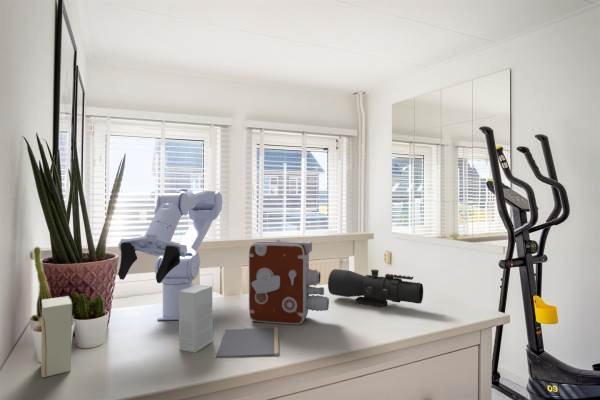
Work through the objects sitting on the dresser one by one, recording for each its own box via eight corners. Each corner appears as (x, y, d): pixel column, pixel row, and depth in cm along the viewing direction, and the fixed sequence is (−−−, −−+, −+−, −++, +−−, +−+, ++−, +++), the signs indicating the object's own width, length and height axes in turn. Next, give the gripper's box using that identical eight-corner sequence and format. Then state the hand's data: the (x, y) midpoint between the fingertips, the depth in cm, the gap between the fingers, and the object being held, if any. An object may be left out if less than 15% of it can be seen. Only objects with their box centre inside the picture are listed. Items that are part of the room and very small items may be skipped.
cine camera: (325, 329, 83) (325, 243, 83) (246, 323, 87) (245, 241, 87) (329, 316, 92) (329, 239, 92) (258, 312, 96) (257, 237, 96)
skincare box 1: (40, 365, 65) (40, 299, 65) (69, 358, 68) (69, 295, 68) (41, 379, 60) (41, 307, 60) (72, 371, 63) (72, 302, 63)
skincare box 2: (196, 339, 77) (196, 284, 77) (213, 341, 76) (213, 285, 76) (177, 350, 72) (177, 290, 72) (195, 353, 70) (194, 292, 70)
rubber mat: (225, 330, 82) (225, 328, 82) (277, 329, 83) (277, 327, 83) (215, 357, 68) (215, 355, 68) (278, 355, 69) (278, 352, 69)
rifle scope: (416, 318, 91) (416, 278, 91) (325, 302, 105) (325, 268, 104) (425, 307, 100) (425, 271, 100) (340, 294, 113) (340, 263, 113)
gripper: (126, 215, 81) (98, 263, 71) (190, 221, 81) (171, 270, 71) (133, 236, 86) (107, 283, 75) (193, 242, 86) (176, 290, 76)
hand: (139, 278), depth 74 cm, fingers open, 7 cm apart
